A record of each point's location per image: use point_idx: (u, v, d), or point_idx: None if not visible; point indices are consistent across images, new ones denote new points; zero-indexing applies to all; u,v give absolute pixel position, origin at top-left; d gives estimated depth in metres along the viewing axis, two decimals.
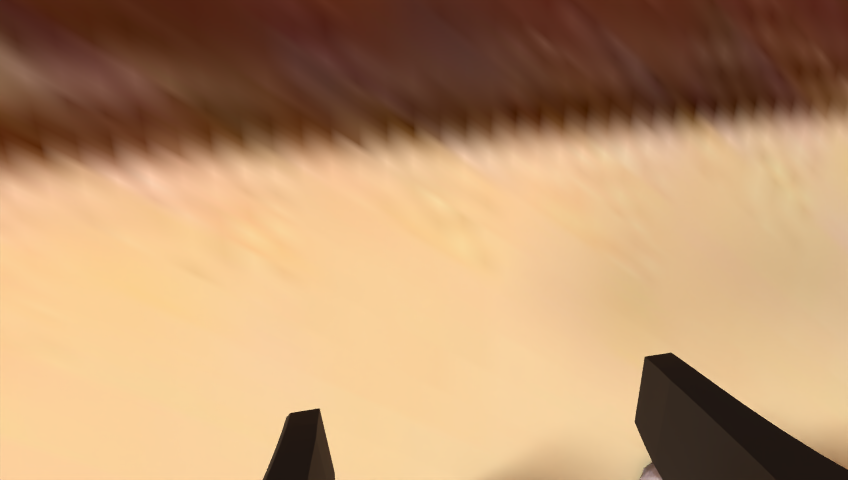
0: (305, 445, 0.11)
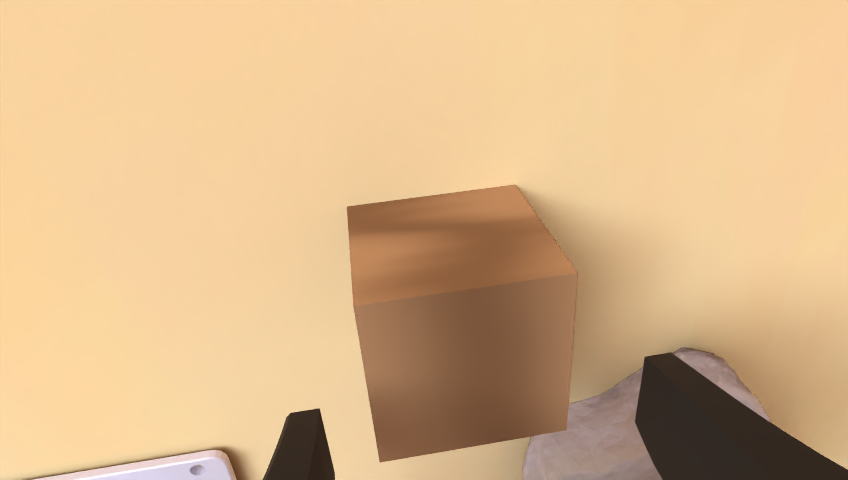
0: (304, 445, 0.11)
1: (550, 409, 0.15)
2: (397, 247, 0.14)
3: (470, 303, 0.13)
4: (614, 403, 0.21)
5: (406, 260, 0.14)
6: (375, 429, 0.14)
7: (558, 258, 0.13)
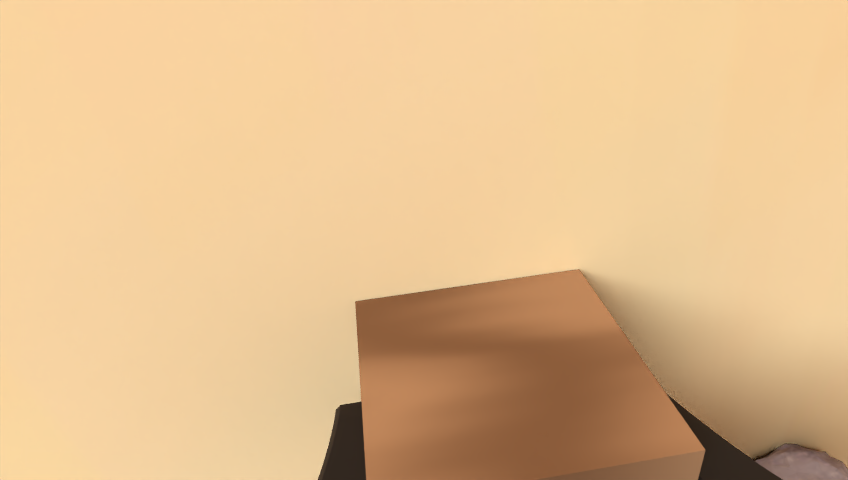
0: (359, 436, 0.11)
1: None
2: (428, 384, 0.10)
3: None
4: None
5: (443, 410, 0.09)
6: None
7: (669, 416, 0.09)
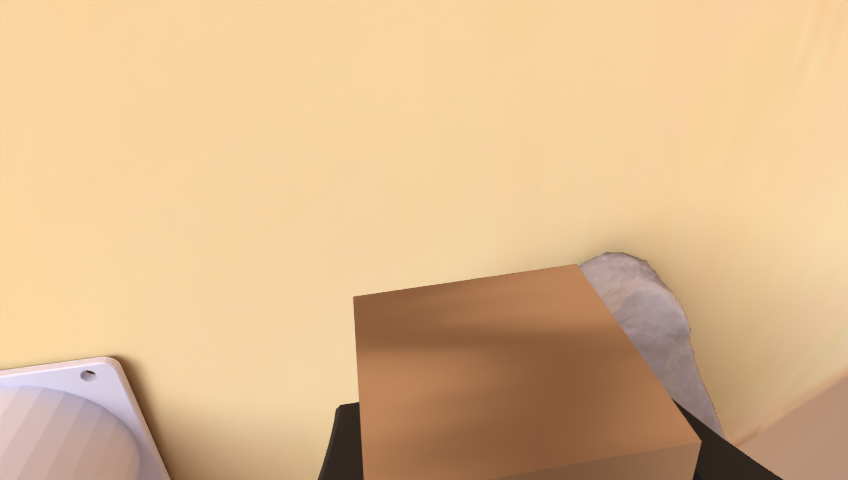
0: (358, 437, 0.11)
1: None
2: (426, 378, 0.10)
3: None
4: None
5: (441, 404, 0.09)
6: None
7: (665, 409, 0.09)
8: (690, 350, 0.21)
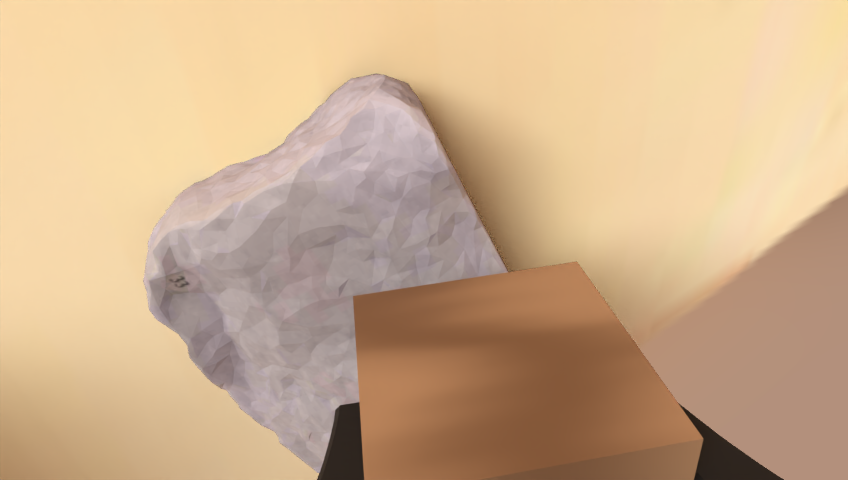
0: (358, 436, 0.11)
1: None
2: (426, 376, 0.10)
3: None
4: (270, 154, 0.16)
5: (441, 402, 0.09)
6: None
7: (666, 406, 0.09)
8: (468, 205, 0.15)
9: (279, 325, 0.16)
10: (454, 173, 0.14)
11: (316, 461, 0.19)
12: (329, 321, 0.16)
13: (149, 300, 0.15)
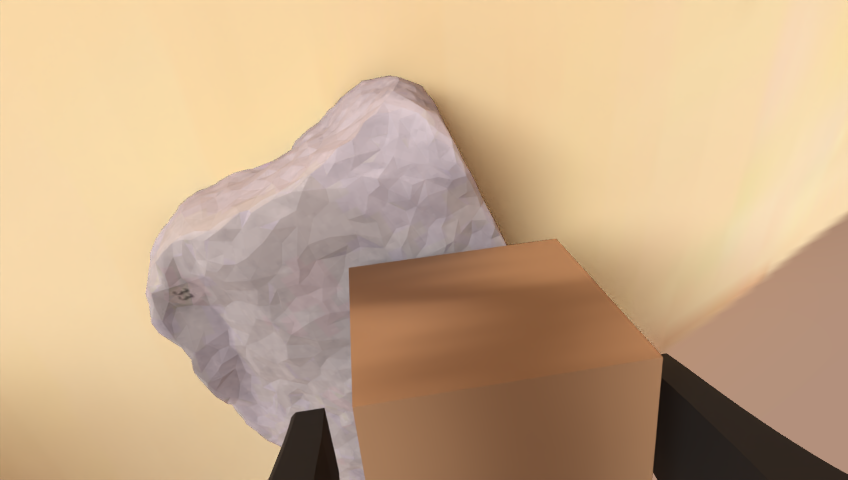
0: (310, 444, 0.11)
1: None
2: (412, 321, 0.11)
3: (515, 401, 0.09)
4: (277, 160, 0.15)
5: (426, 338, 0.10)
6: None
7: (631, 336, 0.10)
8: (486, 213, 0.14)
9: (287, 339, 0.15)
10: (472, 180, 0.13)
11: None
12: (340, 334, 0.15)
13: (151, 313, 0.14)
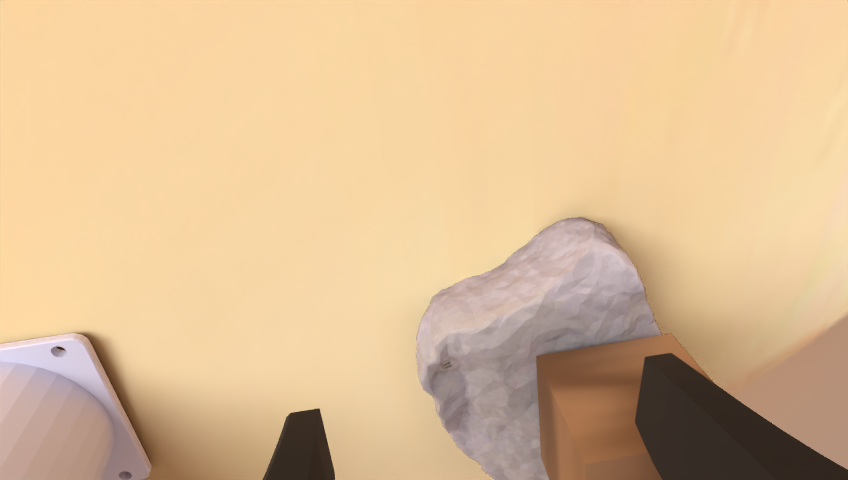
0: (304, 445, 0.11)
1: None
2: (597, 403, 0.18)
3: None
4: (501, 272, 0.22)
5: (610, 416, 0.17)
6: None
7: None
8: (648, 309, 0.21)
9: (510, 392, 0.22)
10: (645, 291, 0.20)
11: None
12: None
13: (423, 377, 0.22)
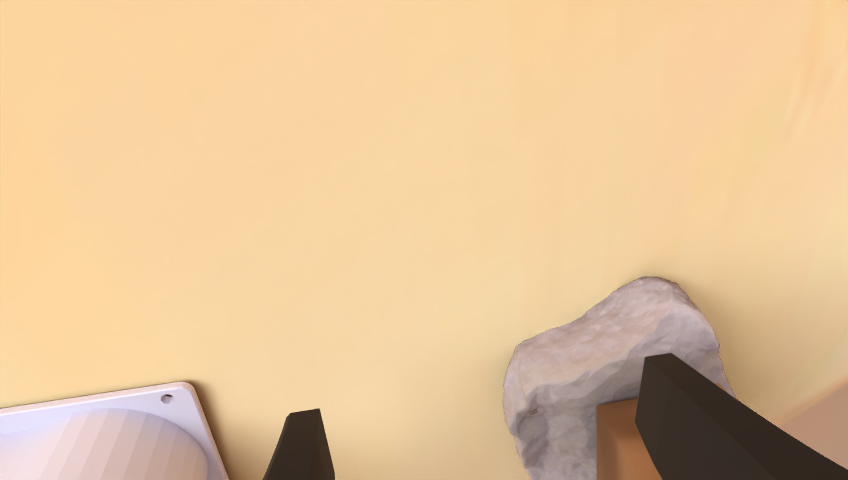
0: (304, 445, 0.11)
1: None
2: None
3: None
4: (582, 326, 0.24)
5: None
6: None
7: None
8: (719, 361, 0.23)
9: (590, 436, 0.24)
10: (718, 347, 0.22)
11: None
12: None
13: (511, 422, 0.24)
